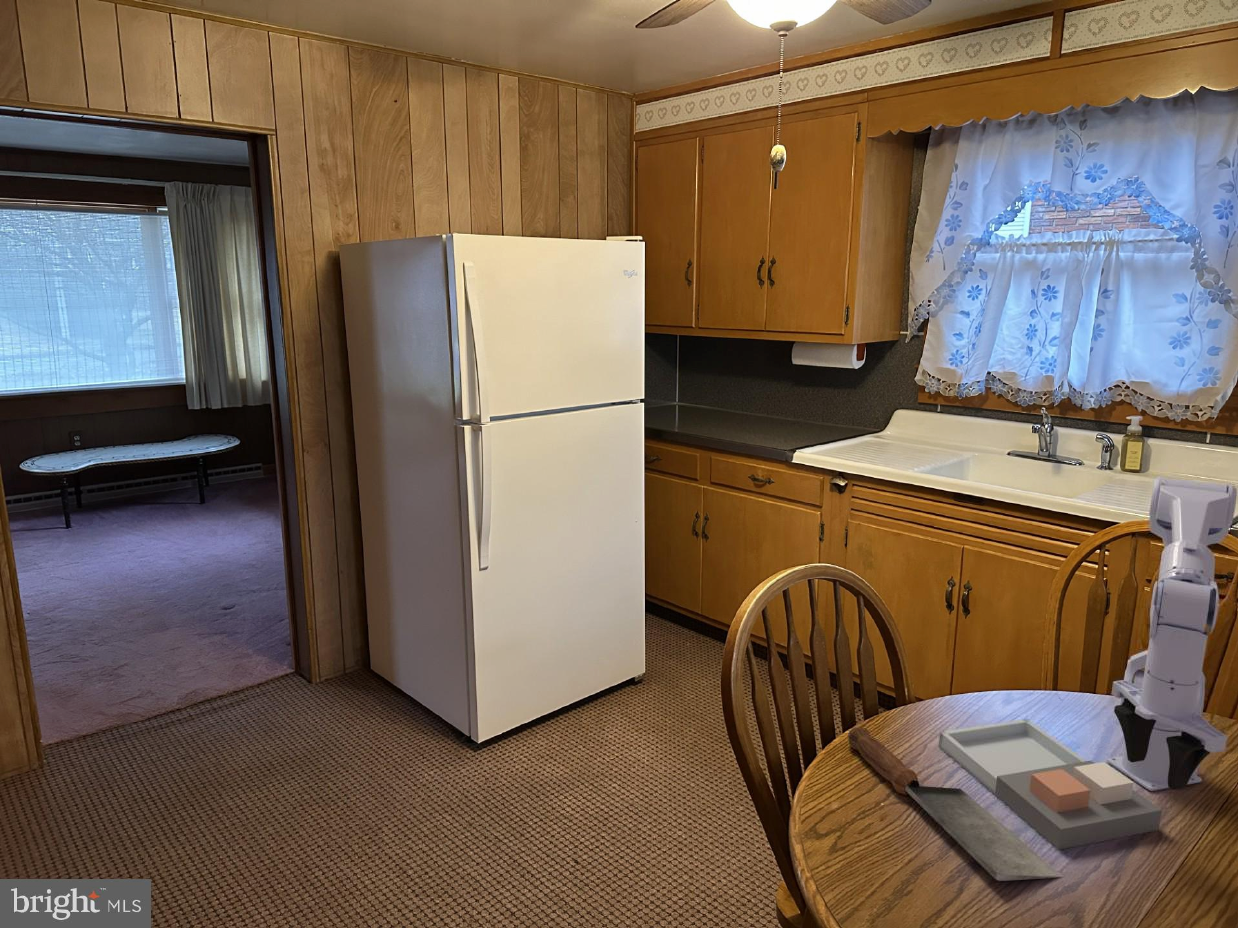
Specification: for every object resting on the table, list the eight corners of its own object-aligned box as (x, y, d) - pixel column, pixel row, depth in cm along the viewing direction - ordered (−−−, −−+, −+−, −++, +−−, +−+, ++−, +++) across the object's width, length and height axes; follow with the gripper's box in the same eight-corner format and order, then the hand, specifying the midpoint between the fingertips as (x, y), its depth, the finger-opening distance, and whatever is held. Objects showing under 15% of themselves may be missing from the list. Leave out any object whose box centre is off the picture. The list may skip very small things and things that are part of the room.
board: (1088, 778, 123) (1090, 760, 122) (1158, 829, 112) (1162, 809, 111) (994, 794, 119) (997, 775, 118) (1058, 849, 108) (1061, 828, 107)
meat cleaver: (1071, 876, 103) (1074, 847, 103) (994, 894, 100) (998, 865, 99) (904, 738, 135) (906, 715, 134) (842, 748, 132) (844, 725, 131)
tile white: (1101, 777, 118) (1103, 761, 118) (1130, 798, 113) (1133, 782, 113) (1071, 782, 117) (1074, 766, 116) (1100, 804, 112) (1102, 787, 112)
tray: (1024, 732, 135) (1026, 718, 135) (1088, 778, 123) (1090, 763, 123) (938, 746, 131) (939, 731, 131) (994, 794, 119) (996, 779, 119)
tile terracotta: (1059, 784, 116) (1062, 768, 116) (1088, 806, 112) (1090, 789, 111) (1029, 790, 115) (1031, 773, 115) (1056, 812, 110) (1059, 795, 110)
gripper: (1098, 652, 109) (1085, 746, 112) (1199, 707, 96) (1181, 812, 99) (1142, 647, 111) (1128, 739, 114) (1247, 699, 97) (1228, 803, 100)
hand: (1155, 773), depth 106 cm, fingers open, 5 cm apart
